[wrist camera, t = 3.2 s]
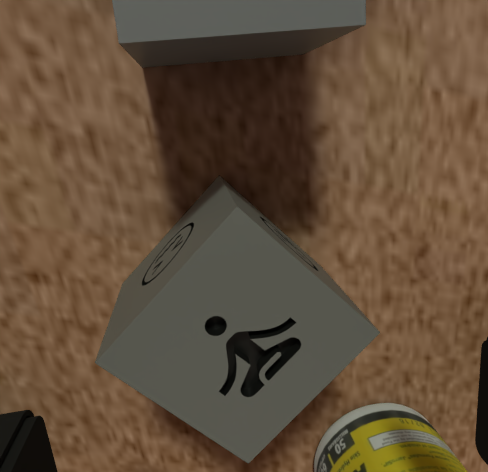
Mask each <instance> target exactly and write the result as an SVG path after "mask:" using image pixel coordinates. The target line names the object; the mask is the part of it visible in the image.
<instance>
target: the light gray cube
mask: <svg viewBox="0 0 488 472" xmlns="http://www.w3.org/2000/svg"><path fill="white" fill-rule="evenodd" d="M112 2H113V9H114V15H115V21H116V28H117V34H118V40H119V44H120V45H121V46H122V47H123V48H124V49H125V50H126V51H127V52H128V53H129V54H130V55H131V56H132V57H133V58H134V59H135V60H136V61H137V63H138V64H139V65H140V66H141V67H142V68H143V67H156V66H168V65H180V64H192V63H205V62H217V61H229V60H242V59H254V58H266V57H278V56H291V55H303V54H305V53H307V52H309V51H311V50H314V49H316V48H318V47H320V46H322V45H324V44H326V43H328V42H330V41H333V40H335V39H337V38H339V37H341V36H343V35H345V34H347V33H349V32H352V31H354V30H356V29H358V28H360V27H362V26H364V25H366V0H112Z"/></svg>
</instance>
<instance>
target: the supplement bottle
mask: <svg viewBox="0 0 488 472" xmlns="http://www.w3.org/2000/svg"><path fill="white" fill-rule="evenodd" d="M314 472H467V470H466V469H465V468H464V466H463V465H462V464H461V463H460V461H459V460H458V459H457V457H456V456H455V455H454V454H453V452H452V451H451V450H450V448H449V447H448V446H447V444H446V443H445V442H444V440H443V439H442V438H441V437H440V435H439V434H438V433H437V431H436V430H435V429H434V428H433V427H432V425H431V424H430V423H429V422H428V421H427V420H426V419H425V418H424V417H423V416H422V415H421V414H420V413H418V412H417V411H415V410H413V409H411V408H409V407H407V406H404V405H400V404H395V403H378V404H371V405H367V406H364V407H361V408H358V409H355V410H353V411H351V412H349V413H347V414H345V415H344V416H343V417H341V418H340V419H338V420H337V421H336V422H335V423H334V424H333V425H331V427H330V428H329V429H328V430H327V431H326V433H325V434H324V436H323V437H322V439H321V441H320V443H319V445H318V448H317V451H316V454H315V459H314Z"/></svg>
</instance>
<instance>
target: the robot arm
mask: <svg viewBox="0 0 488 472" xmlns="http://www.w3.org/2000/svg"><path fill="white" fill-rule="evenodd" d="M475 441H476V447H477V450H478V452H479V454H480V456H481V458H482V459H483V460H484V461H485V462H486V464H487V465H488V337H487V340H486V341H484V342H483V344H482V349H481V364H480V379H479V393H478V408H477V423H476V438H475ZM0 472H57V468H56V464H55V461H54V457H53V453H52V449H51V445H50V442H49V438H48V434H47V430H46V427H45V423H44V420H43V418H42V417H41V416H35V417H34V414H33V413H32V412H31V411H30V410H24V411H18V412H12V413H6V414H0Z"/></svg>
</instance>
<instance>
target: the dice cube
mask: <svg viewBox="0 0 488 472" xmlns="http://www.w3.org/2000/svg"><path fill="white" fill-rule="evenodd" d="M379 333H380V332H379V331H378V329H377V328H376V327H375V326H374V325H373V324H372V323H371V322H370V321H369V319H368V318H367V317H366V316H365V315H364V314H363V313H362V312H361V310H360V309H359V308H358V307H357V306H356V305H355V304H354V303H353V301H352V300H351V299H350V298H349V297H348V296H347V295H346V294H345V293H344V291H343V290H342V289H341V288H340V287H339V286H338V285H337V284H336V282H335V281H334V280H333V279H332V278H331V277H330V276H329V275H328V274H327V272H326V271H325V270H324V269H323V268H322V267H321V266H320V265H319V264H318V263H317V262H316V261H314V260H313V259H312V258H311V257H310V256H309V255H308V254H307V253H306V252H304V251H303V250H302V249H301V248H300V247H299V246H298V245H297V244H295V243H294V242H293V241H292V240H291V239H290V238H289V237H288V236H287V235H285V234H284V233H283V232H282V231H281V230H280V229H279V228H278V227H276V226H275V225H274V224H273V223H272V222H271V221H270V220H269V219H268V218H266V217H265V216H264V215H263V214H262V213H261V212H260V211H259V210H257V209H256V208H255V207H254V206H253V205H252V204H251V203H250V202H249V201H247V200H246V199H245V198H244V197H243V196H242V195H241V194H240V193H238V192H237V191H236V190H235V189H234V188H233V187H232V186H231V185H230V184H228V183H227V182H226V181H225V180H224V179H223V178H222V177H221V176H218V177H217V178H216V180H215V181H214V182H213V183H212V184H211V185H210V186H209V187H208V189H207V190H206V191H205V192H204V193H203V194H202V195H201V196H200V197H199V199H198V200H197V201H196V202H195V203H194V204H193V205H192V206H191V208H190V209H189V210H188V211H187V212H186V213H185V214H184V215H183V217H182V218H181V219H180V220H179V221H178V222H177V223H176V224H175V225H174V227H173V228H172V229H171V230H170V231H169V232H168V233H167V234H166V236H165V237H164V238H163V239H162V240H161V241H160V242H159V243H158V245H157V246H156V247H155V248H154V249H153V250H152V251H151V252H150V253H149V255H148V256H147V257H146V258H145V259H144V260H143V261H142V262H141V264H140V265H139V266H138V267H137V268H136V269H135V270H134V271H133V273H132V274H131V275H130V276H129V277H128V278H127V279H126V280H125V281H124V283H123V284H122V287H121V290H120V292H119V295H118V298H117V301H116V304H115V307H114V310H113V312H112V315H111V318H110V321H109V324H108V327H107V330H106V332H105V335H104V338H103V341H102V344H101V347H100V350H99V352H98V355H97V358H96V361H95V363H96V364H97V365H99V366H100V367H102V368H103V369H105V370H106V371H108V372H110V373H111V374H113V375H114V376H116V377H117V378H119V379H120V380H122V381H123V382H125V383H126V384H128V385H129V386H131V387H132V388H134V389H135V390H137V391H138V392H140V393H142V394H143V395H145V396H146V397H148V398H149V399H151V400H152V401H154V402H155V403H157V404H158V405H160V406H161V407H163V408H164V409H166V410H167V411H169V412H170V413H172V414H173V415H175V416H177V417H178V418H180V419H181V420H183V421H184V422H186V423H187V424H189V425H190V426H192V427H193V428H195V429H196V430H198V431H199V432H201V433H202V434H204V435H205V436H207V437H209V438H210V439H212V440H213V441H215V442H216V443H218V444H219V445H221V446H222V447H224V448H225V449H227V450H228V451H230V452H231V453H233V454H234V455H236V456H237V457H239V458H241V459H242V460H244V461H245V462H247V463H249V462H250V461H251V460H252V459H254V458H255V457H256V456H257V455H258V454H259V453H260V452H261V451H262V450H263V449H264V448H265V447H266V446H267V445H268V444H269V443H270V442H271V441H272V440H273V439H274V438H275V437H276V436H277V435H278V434H279V433H280V432H281V431H282V430H283V429H284V428H285V427H286V426H287V425H288V424H289V423H290V422H291V421H292V420H293V419H294V418H295V417H296V416H297V415H298V414H299V413H300V412H301V411H302V410H303V409H304V408H305V407H306V406H307V405H308V404H309V403H310V402H311V401H312V400H313V399H314V398H315V397H316V396H317V395H318V394H319V393H320V392H321V391H322V390H323V389H324V388H325V387H326V386H327V385H328V384H329V383H330V382H331V381H332V380H333V379H334V378H335V377H336V376H337V375H338V374H339V373H340V372H341V371H342V370H343V369H344V368H345V367H346V366H347V365H348V364H349V363H350V362H351V361H352V360H353V359H354V358H355V357H356V356H357V355H358V354H359V353H360V352H361V351H362V350H363V349H364V348H365V347H366V346H367V345H368V344H369V343H370V342H371V341H372V340H373V339H374V338H375V337H376V336H377V335H378V334H379Z"/></svg>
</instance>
